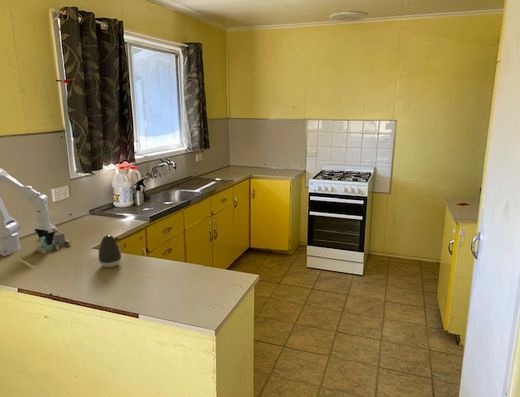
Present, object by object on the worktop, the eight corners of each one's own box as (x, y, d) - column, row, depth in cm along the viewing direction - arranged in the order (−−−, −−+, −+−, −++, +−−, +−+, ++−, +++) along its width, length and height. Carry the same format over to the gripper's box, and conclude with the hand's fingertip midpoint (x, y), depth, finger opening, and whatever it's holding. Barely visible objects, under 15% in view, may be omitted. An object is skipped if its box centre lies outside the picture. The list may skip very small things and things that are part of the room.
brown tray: (44, 255, 198) (43, 249, 197) (36, 251, 203) (35, 245, 202) (71, 247, 209) (70, 241, 208) (63, 243, 214) (62, 238, 213)
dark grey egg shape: (115, 270, 180) (111, 239, 176) (94, 268, 182) (91, 238, 178) (126, 262, 189) (123, 232, 186) (107, 260, 191) (104, 231, 188)
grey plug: (58, 248, 206) (56, 235, 204) (54, 246, 208) (52, 234, 206) (65, 245, 209) (64, 233, 207) (62, 244, 211) (60, 232, 209)
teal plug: (45, 251, 200) (43, 239, 199) (41, 250, 203) (39, 237, 201) (52, 249, 203) (51, 236, 202) (49, 247, 206) (47, 235, 204)
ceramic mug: (46, 241, 217) (44, 228, 215) (42, 237, 223) (41, 225, 221) (66, 237, 224) (65, 225, 222) (62, 234, 230) (61, 221, 228)
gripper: (57, 218, 198) (60, 243, 201) (44, 213, 206) (48, 237, 210) (43, 222, 192) (46, 247, 196) (30, 216, 201) (34, 241, 204)
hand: (46, 242), depth 202 cm, fingers open, 7 cm apart
